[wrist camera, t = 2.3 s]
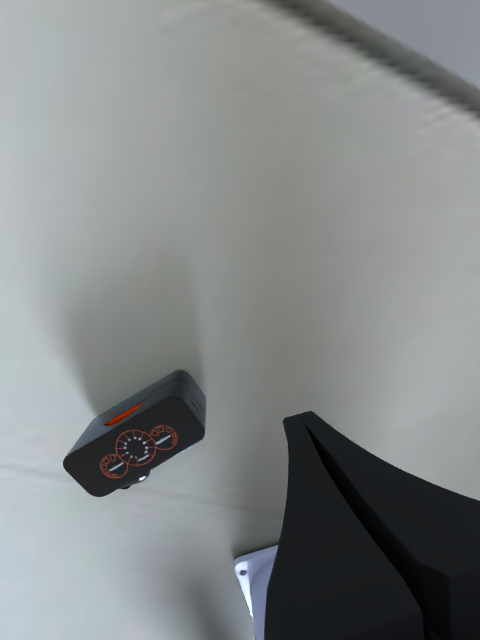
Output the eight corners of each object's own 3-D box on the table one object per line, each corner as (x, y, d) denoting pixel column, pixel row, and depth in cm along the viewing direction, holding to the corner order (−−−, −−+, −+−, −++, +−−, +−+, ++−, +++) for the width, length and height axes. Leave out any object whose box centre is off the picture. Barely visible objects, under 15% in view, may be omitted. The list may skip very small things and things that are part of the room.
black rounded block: (78, 424, 15) (41, 470, 11) (184, 361, 14) (176, 390, 11) (127, 478, 16) (106, 533, 13) (226, 421, 16) (230, 463, 12)
